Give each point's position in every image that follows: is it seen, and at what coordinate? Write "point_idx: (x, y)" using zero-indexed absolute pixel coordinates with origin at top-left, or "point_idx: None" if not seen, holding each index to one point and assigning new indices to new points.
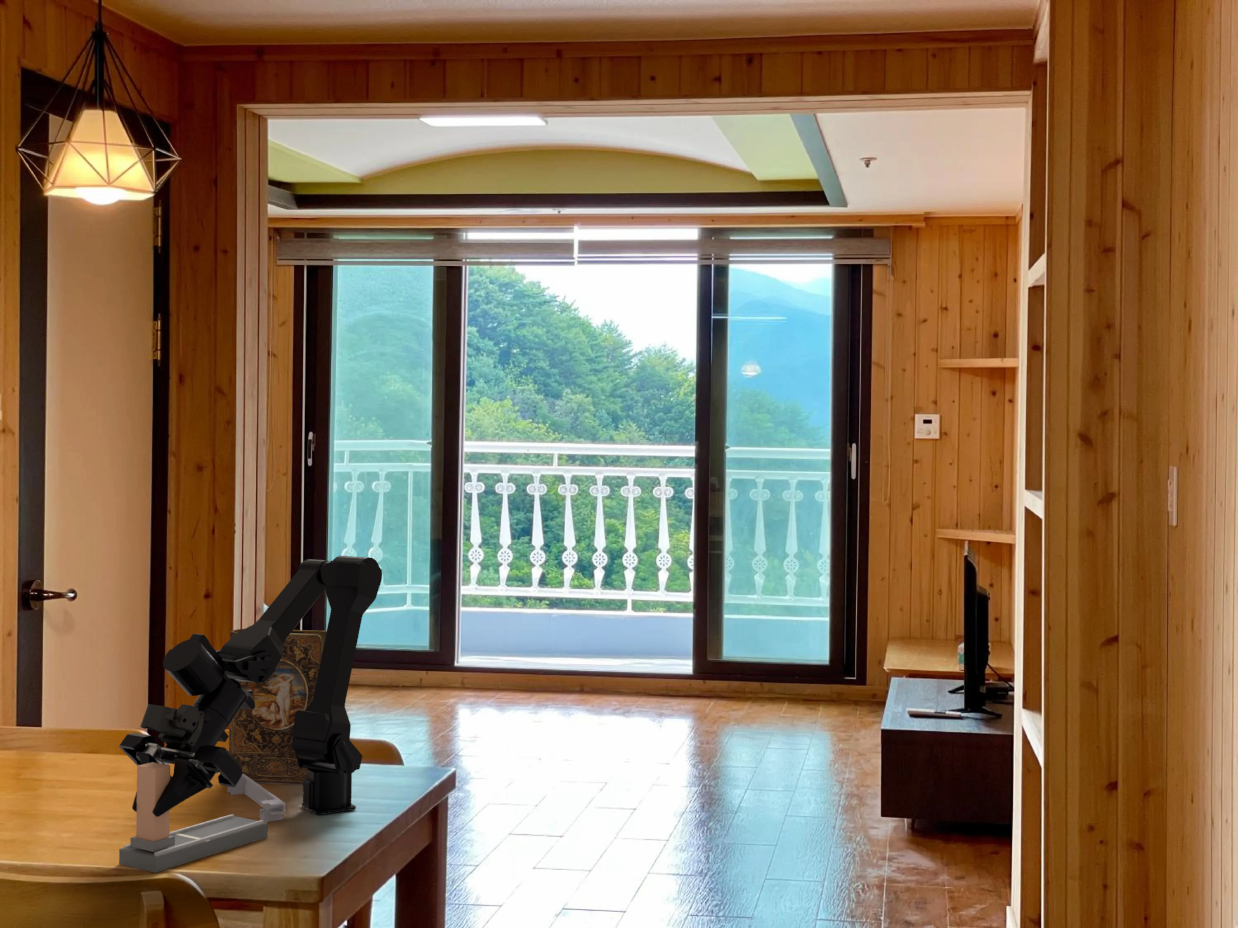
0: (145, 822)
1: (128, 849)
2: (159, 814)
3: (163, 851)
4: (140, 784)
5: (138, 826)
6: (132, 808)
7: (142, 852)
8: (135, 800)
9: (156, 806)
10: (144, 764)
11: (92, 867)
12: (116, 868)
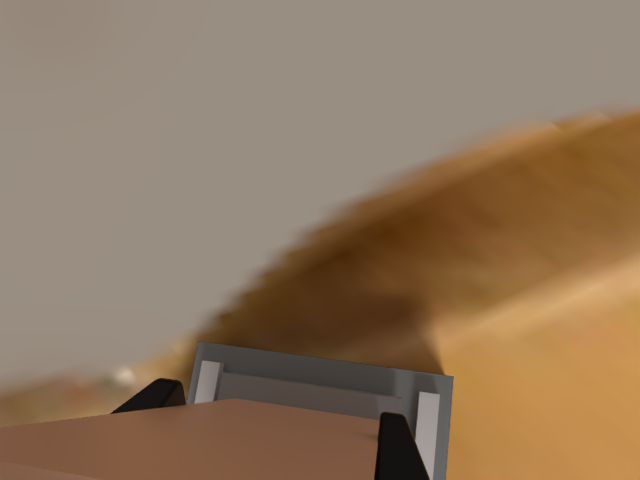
0: (291, 414)
1: (404, 388)
2: None
3: (195, 401)
4: (309, 454)
5: (360, 422)
6: (400, 414)
7: (308, 378)
8: (403, 457)
9: (143, 406)
10: None
11: (509, 288)
12: (407, 321)
